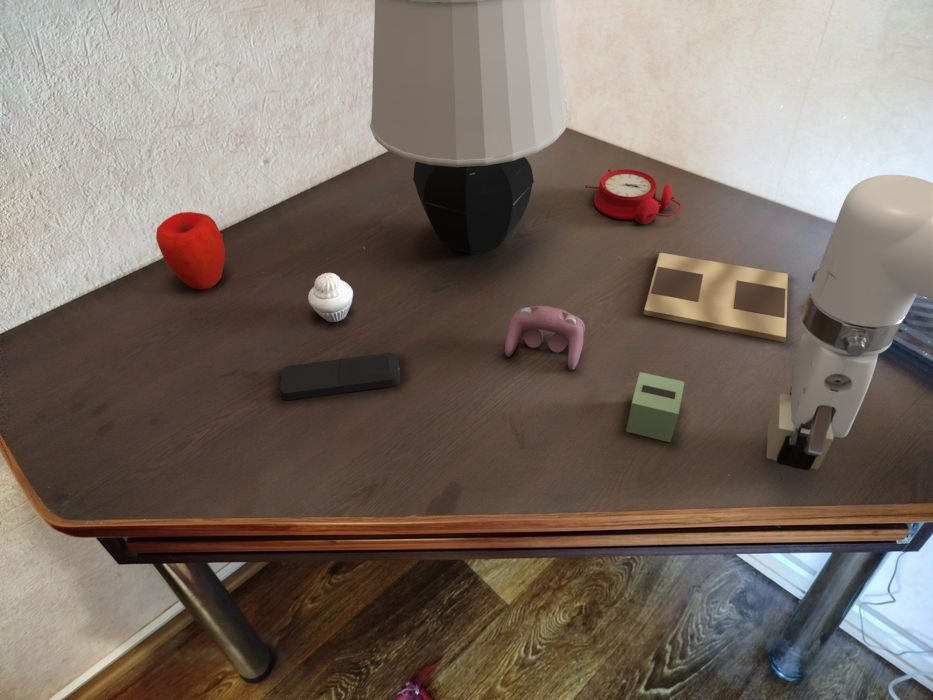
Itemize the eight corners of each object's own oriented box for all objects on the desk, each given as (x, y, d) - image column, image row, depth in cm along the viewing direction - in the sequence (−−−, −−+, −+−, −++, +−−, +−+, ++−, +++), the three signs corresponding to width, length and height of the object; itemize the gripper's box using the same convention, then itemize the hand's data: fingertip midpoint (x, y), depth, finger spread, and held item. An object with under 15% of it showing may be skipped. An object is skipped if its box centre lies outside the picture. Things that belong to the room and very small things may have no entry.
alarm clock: (611, 161, 111) (693, 168, 102) (614, 195, 115) (693, 204, 105) (577, 186, 106) (660, 195, 96) (581, 220, 110) (662, 233, 100)
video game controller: (581, 362, 84) (590, 311, 81) (576, 373, 80) (585, 319, 77) (509, 347, 86) (516, 297, 84) (500, 357, 82) (507, 305, 80)
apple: (248, 272, 99) (226, 212, 91) (207, 305, 93) (180, 243, 86) (206, 258, 102) (182, 198, 95) (164, 289, 97) (135, 228, 89)
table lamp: (357, 241, 104) (303, -41, 76) (485, 184, 115) (478, -79, 87) (459, 324, 88) (438, 7, 60) (596, 248, 99) (630, -48, 72)
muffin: (354, 328, 88) (345, 288, 83) (310, 330, 88) (299, 290, 84) (359, 299, 93) (351, 260, 88) (317, 301, 93) (306, 262, 88)
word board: (785, 279, 92) (788, 273, 91) (783, 342, 83) (786, 336, 82) (658, 257, 97) (659, 251, 96) (643, 315, 88) (644, 308, 87)
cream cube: (817, 434, 70) (832, 402, 66) (817, 469, 67) (833, 439, 63) (768, 423, 71) (780, 392, 68) (766, 458, 68) (779, 427, 65)
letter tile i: (676, 410, 75) (684, 381, 72) (670, 442, 72) (678, 413, 68) (633, 400, 77) (639, 371, 73) (625, 431, 73) (631, 402, 70)
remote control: (281, 404, 79) (401, 385, 80) (277, 394, 78) (399, 375, 79) (284, 375, 83) (399, 358, 83) (280, 366, 82) (396, 348, 82)
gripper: (909, 392, 50) (833, 520, 62) (889, 267, 61) (828, 396, 73) (804, 372, 52) (751, 499, 64) (803, 255, 63) (759, 382, 76)
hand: (793, 443), depth 69 cm, fingers closed on cream cube, 5 cm apart
